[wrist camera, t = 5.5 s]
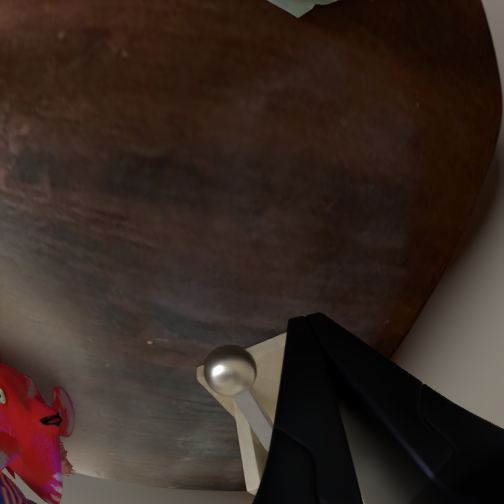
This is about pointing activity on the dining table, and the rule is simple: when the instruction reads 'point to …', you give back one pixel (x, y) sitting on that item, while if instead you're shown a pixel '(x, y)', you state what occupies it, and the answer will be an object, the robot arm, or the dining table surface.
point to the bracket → (266, 389)
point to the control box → (299, 5)
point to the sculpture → (11, 492)
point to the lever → (239, 386)
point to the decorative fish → (33, 433)
